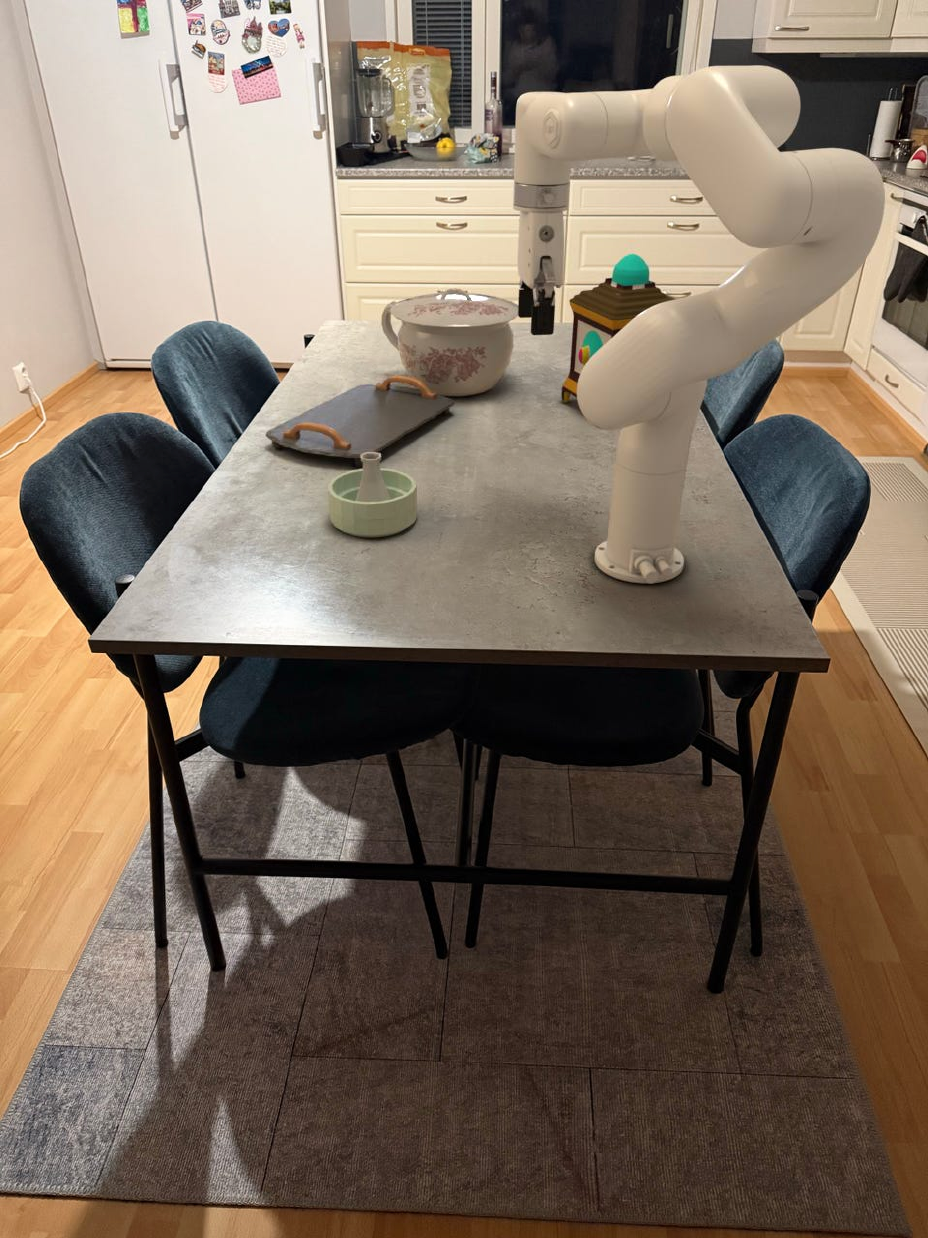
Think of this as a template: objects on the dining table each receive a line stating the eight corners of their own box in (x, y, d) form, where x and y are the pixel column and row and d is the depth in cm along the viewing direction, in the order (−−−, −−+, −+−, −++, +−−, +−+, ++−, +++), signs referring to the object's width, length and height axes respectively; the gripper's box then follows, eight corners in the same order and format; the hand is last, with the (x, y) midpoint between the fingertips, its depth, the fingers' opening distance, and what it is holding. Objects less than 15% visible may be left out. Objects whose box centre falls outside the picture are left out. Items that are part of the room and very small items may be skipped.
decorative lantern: (551, 400, 190) (560, 247, 174) (632, 388, 196) (648, 241, 180) (600, 431, 174) (615, 267, 158) (686, 418, 181) (708, 259, 165)
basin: (420, 537, 136) (419, 501, 133) (331, 542, 135) (328, 506, 131) (413, 500, 147) (412, 465, 144) (330, 504, 146) (327, 469, 143)
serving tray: (369, 392, 193) (367, 363, 190) (465, 410, 184) (465, 380, 181) (253, 453, 164) (249, 420, 161) (360, 477, 155) (358, 443, 152)
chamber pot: (541, 397, 191) (546, 296, 180) (420, 415, 181) (418, 309, 170) (484, 362, 212) (486, 269, 201) (374, 376, 203) (369, 279, 192)
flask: (390, 528, 137) (387, 466, 132) (344, 523, 138) (340, 462, 133) (402, 508, 143) (400, 448, 138) (358, 504, 144) (354, 444, 139)
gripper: (583, 205, 116) (574, 340, 125) (554, 188, 130) (547, 310, 139) (525, 206, 115) (520, 342, 124) (503, 188, 129) (499, 311, 139)
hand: (535, 325), depth 132 cm, fingers open, 9 cm apart
